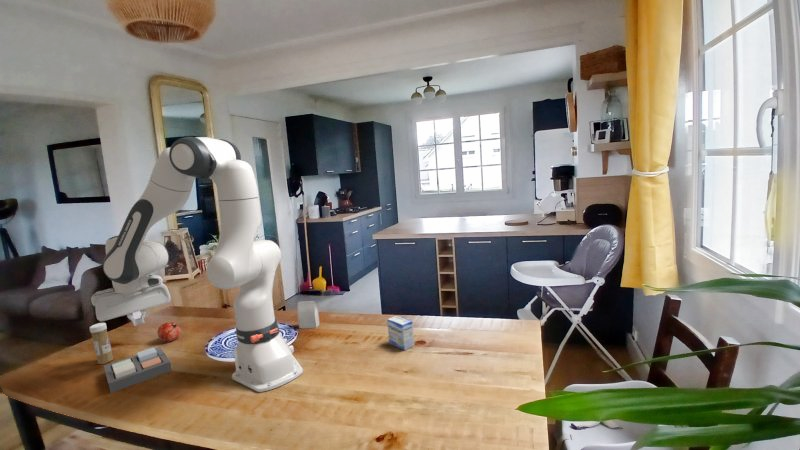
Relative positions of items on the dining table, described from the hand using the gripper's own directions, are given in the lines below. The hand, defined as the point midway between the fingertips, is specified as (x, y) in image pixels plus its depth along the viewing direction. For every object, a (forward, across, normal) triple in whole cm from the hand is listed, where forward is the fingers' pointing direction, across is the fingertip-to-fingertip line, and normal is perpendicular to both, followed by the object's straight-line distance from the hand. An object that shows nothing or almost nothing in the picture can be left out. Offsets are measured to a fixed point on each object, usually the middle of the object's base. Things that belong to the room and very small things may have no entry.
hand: (139, 324), depth 127 cm
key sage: (+14, -7, +1) cm, 15 cm away
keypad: (+14, -3, -3) cm, 15 cm away
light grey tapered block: (+15, +51, -17) cm, 56 cm away
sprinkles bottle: (+14, -10, +17) cm, 25 cm away
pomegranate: (+15, +10, +17) cm, 25 cm away
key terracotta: (+14, 0, -6) cm, 15 cm away
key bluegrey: (+13, 0, +1) cm, 13 cm away
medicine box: (+16, +62, -58) cm, 86 cm away
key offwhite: (+13, -7, -6) cm, 16 cm away
